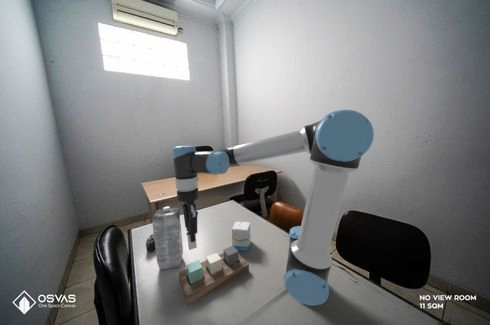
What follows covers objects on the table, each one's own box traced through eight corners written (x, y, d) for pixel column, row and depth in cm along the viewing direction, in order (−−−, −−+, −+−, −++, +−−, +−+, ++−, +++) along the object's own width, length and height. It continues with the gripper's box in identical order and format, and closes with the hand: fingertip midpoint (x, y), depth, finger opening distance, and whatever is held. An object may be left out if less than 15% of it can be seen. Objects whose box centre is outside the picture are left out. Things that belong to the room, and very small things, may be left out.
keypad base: (248, 271, 74) (248, 264, 74) (187, 304, 61) (186, 296, 60) (234, 254, 85) (233, 248, 85) (179, 279, 71) (178, 272, 71)
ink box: (248, 251, 87) (247, 230, 85) (232, 250, 89) (231, 229, 87) (251, 241, 96) (250, 221, 94) (236, 240, 97) (235, 220, 96)
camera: (157, 256, 86) (155, 238, 85) (144, 253, 89) (142, 235, 87) (178, 239, 101) (177, 223, 99) (167, 236, 103) (165, 221, 102)
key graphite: (238, 261, 76) (238, 251, 75) (228, 266, 73) (228, 255, 73) (233, 255, 80) (232, 245, 79) (224, 259, 77) (223, 249, 77)
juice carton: (181, 268, 78) (176, 211, 74) (156, 272, 76) (149, 214, 72) (184, 255, 86) (179, 203, 82) (162, 258, 84) (155, 206, 80)
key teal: (203, 278, 67) (202, 267, 67) (191, 284, 65) (189, 272, 64) (199, 270, 71) (198, 260, 71) (187, 276, 69) (186, 265, 68)
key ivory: (222, 269, 72) (221, 258, 71) (211, 274, 69) (210, 263, 68) (217, 262, 76) (216, 252, 75) (206, 267, 73) (206, 256, 72)
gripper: (203, 190, 59) (208, 253, 63) (192, 182, 70) (197, 236, 74) (181, 195, 55) (187, 261, 59) (173, 186, 66) (178, 242, 70)
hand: (192, 247), depth 66 cm, fingers closed
